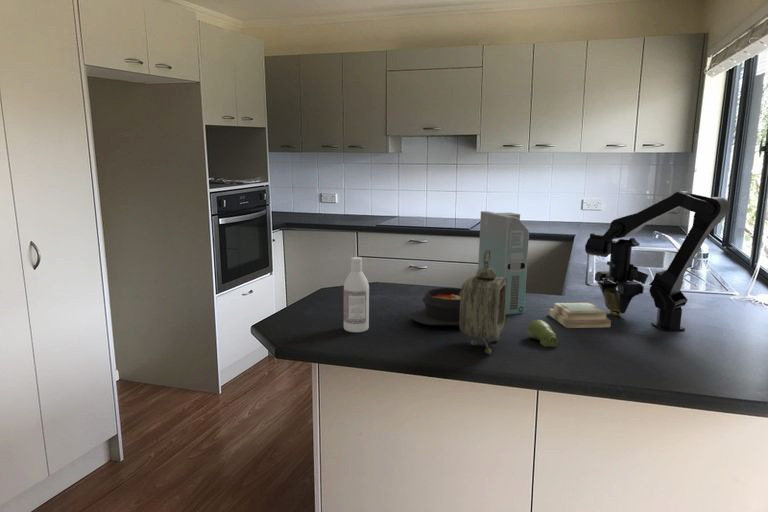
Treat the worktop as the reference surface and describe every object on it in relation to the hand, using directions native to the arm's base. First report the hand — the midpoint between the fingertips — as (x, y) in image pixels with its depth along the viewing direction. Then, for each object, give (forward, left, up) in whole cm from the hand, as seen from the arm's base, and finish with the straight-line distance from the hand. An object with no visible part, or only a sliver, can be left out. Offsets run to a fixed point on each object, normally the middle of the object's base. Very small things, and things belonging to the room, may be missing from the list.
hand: (615, 309), depth 174 cm
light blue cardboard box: (+11, +33, -2) cm, 35 cm away
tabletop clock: (-25, +49, -2) cm, 55 cm away
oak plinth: (-5, +14, -2) cm, 15 cm away
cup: (0, 0, -2) cm, 2 cm away
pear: (-22, +32, -2) cm, 39 cm away
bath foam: (-9, +80, -2) cm, 81 cm away
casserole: (-3, +52, -2) cm, 52 cm away
